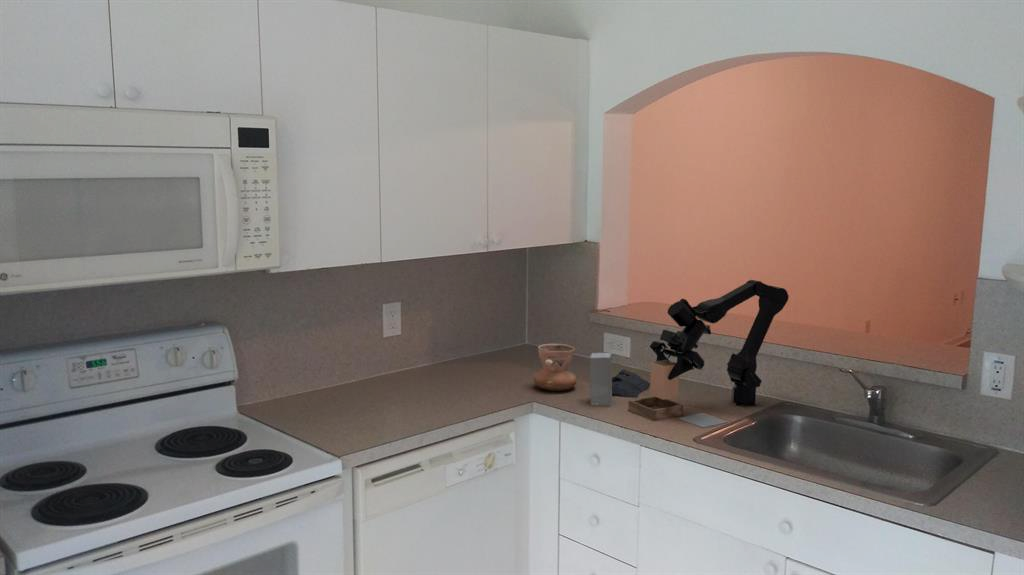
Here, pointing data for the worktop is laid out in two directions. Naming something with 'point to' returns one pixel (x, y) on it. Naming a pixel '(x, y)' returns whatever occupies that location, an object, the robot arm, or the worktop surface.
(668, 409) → the brown wooden tray
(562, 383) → the brown clay vase
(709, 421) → the rubber mat
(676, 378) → the lidded terracotta box
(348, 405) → the worktop surface
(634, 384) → the dark slate chunk
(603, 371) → the skincare box
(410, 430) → the worktop surface
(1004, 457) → the worktop surface
